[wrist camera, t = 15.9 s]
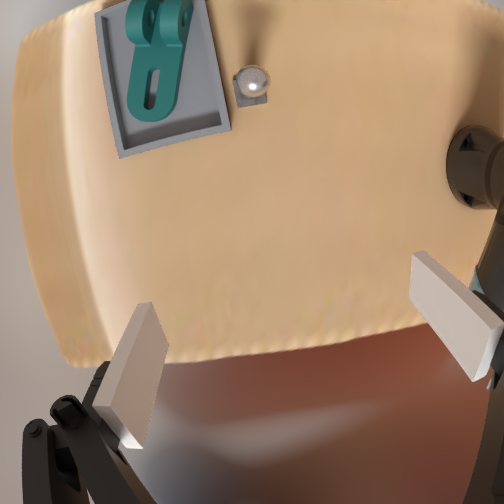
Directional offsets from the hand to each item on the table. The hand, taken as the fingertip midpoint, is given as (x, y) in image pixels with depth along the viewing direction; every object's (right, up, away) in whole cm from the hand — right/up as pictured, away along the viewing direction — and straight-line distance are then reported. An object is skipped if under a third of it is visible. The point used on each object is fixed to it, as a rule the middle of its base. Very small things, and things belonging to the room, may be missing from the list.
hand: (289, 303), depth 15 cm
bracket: (-15, +29, +21) cm, 39 cm away
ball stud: (-2, +24, +24) cm, 34 cm away
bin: (-15, +29, +22) cm, 39 cm away
